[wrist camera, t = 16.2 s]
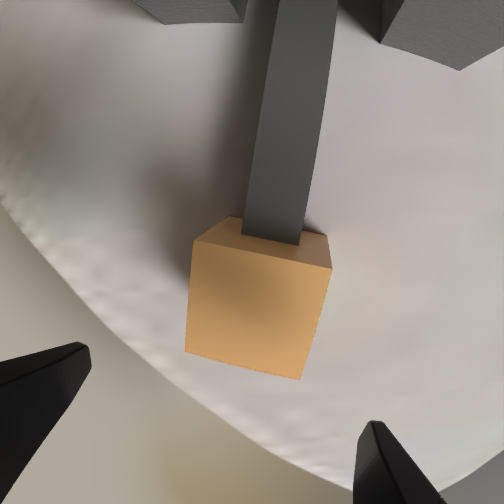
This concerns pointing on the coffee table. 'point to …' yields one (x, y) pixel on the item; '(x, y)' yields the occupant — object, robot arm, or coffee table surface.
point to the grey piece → (383, 24)
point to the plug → (271, 217)
